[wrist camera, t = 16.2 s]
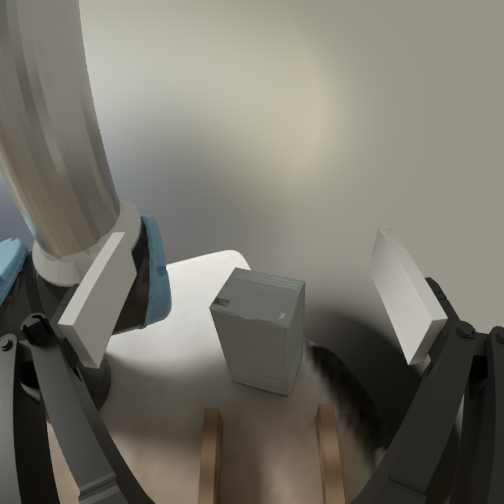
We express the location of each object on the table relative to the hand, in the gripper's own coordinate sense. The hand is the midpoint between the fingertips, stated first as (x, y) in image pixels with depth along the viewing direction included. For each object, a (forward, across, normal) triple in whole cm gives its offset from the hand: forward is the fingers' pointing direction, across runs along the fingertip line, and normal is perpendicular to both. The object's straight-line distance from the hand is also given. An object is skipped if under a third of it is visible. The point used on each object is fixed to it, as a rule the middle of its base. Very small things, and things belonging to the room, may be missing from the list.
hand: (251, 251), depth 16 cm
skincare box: (+11, +1, -27) cm, 29 cm away
